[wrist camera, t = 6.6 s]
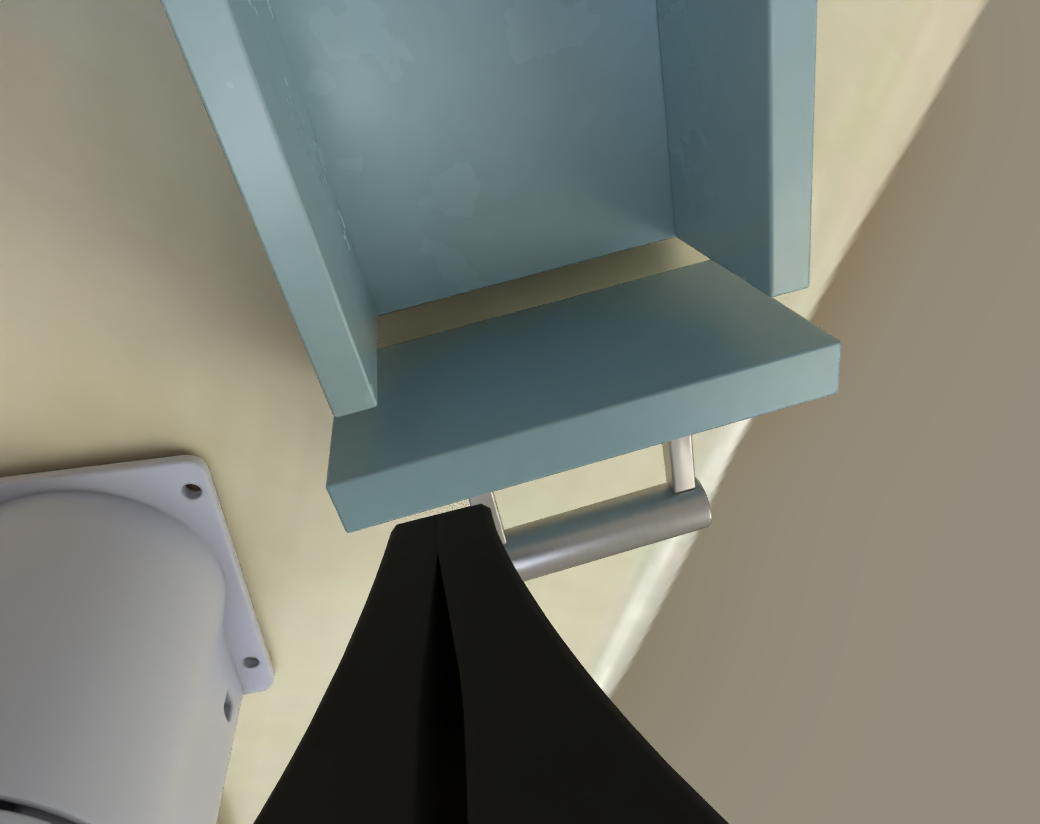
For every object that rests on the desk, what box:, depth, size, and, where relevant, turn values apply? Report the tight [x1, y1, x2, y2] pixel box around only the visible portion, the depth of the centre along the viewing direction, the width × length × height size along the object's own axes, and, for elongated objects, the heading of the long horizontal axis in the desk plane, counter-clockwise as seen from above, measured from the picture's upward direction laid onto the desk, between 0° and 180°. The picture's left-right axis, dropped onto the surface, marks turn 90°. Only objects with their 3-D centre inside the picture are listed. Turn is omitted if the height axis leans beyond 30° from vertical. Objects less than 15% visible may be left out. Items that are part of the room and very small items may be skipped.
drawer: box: [160, 0, 841, 582], centre depth 14 cm, size 16×10×6 cm, turn 12°
